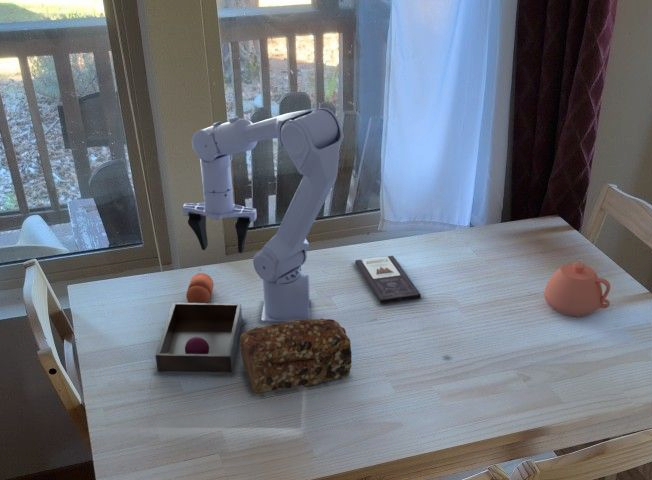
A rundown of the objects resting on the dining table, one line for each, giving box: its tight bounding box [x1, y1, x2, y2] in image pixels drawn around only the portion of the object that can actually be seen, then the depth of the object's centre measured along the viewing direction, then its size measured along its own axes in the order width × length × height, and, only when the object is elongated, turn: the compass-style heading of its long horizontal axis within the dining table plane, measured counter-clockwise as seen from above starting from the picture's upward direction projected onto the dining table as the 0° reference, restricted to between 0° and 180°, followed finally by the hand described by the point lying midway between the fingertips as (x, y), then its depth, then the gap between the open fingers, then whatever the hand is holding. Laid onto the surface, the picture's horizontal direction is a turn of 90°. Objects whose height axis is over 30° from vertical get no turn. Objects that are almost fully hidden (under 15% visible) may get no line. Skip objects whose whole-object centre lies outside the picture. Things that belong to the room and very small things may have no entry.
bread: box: [239, 318, 353, 394], centre depth 151 cm, size 19×11×10 cm, turn 111°
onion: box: [185, 337, 209, 354], centre depth 153 cm, size 4×4×4 cm
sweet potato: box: [186, 272, 214, 303], centre depth 171 cm, size 9×5×5 cm, turn 3°
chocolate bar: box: [355, 255, 422, 305], centre depth 182 cm, size 9×1×18 cm
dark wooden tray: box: [154, 302, 243, 373], centre depth 158 cm, size 13×18×4 cm
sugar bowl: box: [543, 261, 611, 318], centre depth 174 cm, size 12×14×10 cm
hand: (223, 249), depth 171 cm, fingers open, 7 cm apart
